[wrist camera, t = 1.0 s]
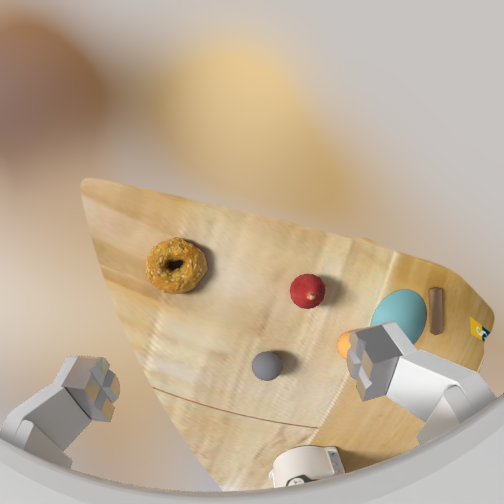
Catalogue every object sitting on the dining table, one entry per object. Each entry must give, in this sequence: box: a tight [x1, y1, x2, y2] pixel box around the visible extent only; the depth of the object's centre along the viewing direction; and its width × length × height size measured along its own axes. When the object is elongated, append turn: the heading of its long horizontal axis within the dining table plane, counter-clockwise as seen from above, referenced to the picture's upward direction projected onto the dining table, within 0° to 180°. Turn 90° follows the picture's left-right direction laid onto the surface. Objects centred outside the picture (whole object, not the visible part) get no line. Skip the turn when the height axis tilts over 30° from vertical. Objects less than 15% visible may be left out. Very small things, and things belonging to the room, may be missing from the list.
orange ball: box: [337, 331, 351, 359], centre depth 46 cm, size 6×6×6 cm
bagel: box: [146, 237, 208, 294], centre depth 46 cm, size 10×11×5 cm
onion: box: [290, 274, 325, 309], centre depth 44 cm, size 6×6×8 cm
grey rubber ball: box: [252, 352, 282, 381], centre depth 46 cm, size 6×6×6 cm
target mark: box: [370, 290, 427, 344], centre depth 48 cm, size 14×14×1 cm
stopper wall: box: [429, 287, 443, 335], centre depth 47 cm, size 2×10×2 cm, turn 12°
